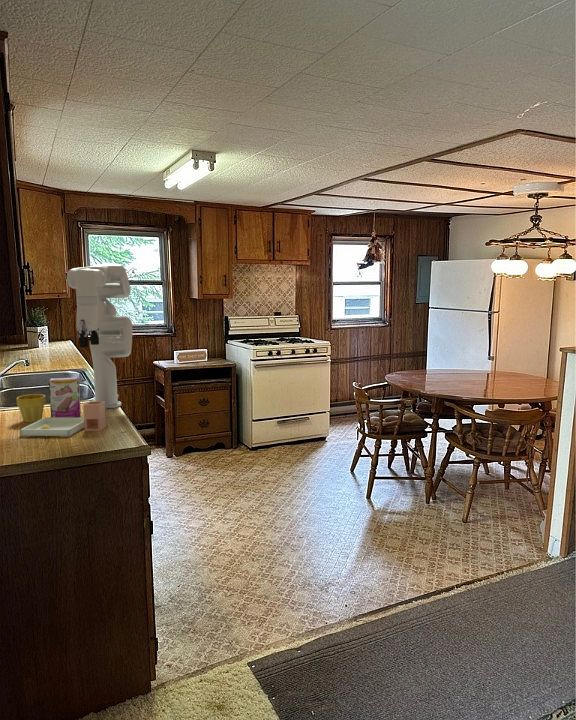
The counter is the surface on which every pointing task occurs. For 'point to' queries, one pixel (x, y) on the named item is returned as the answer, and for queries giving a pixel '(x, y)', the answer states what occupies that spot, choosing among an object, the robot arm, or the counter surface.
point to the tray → (54, 427)
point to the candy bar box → (65, 397)
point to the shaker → (95, 415)
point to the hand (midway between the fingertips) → (89, 345)
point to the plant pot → (31, 407)
